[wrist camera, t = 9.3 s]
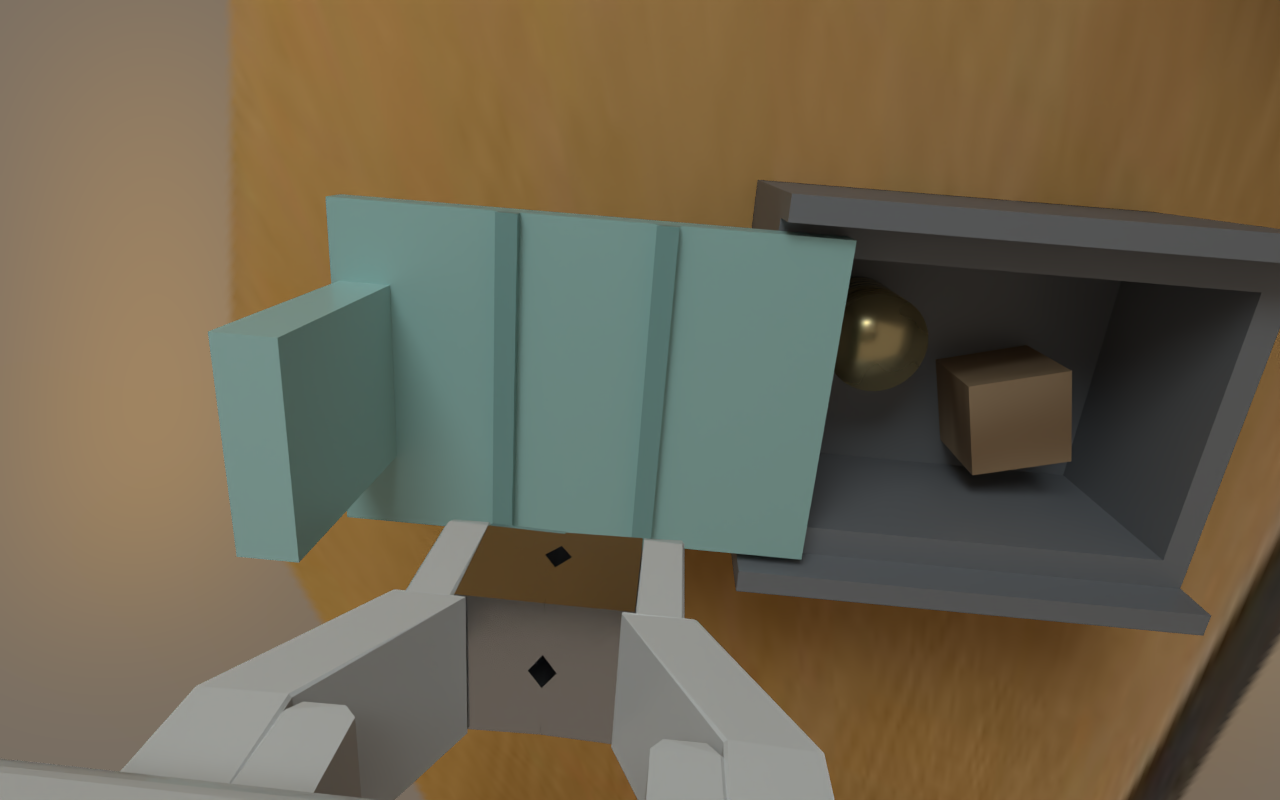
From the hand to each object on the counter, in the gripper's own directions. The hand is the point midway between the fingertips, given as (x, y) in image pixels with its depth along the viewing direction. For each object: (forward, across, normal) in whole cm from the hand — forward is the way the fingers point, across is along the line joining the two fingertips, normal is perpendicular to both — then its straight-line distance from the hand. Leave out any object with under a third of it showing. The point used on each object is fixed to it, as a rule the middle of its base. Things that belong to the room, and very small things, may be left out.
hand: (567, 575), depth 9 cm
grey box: (+15, -9, +1) cm, 18 cm away
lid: (+9, +1, +1) cm, 9 cm away
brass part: (+15, -7, 0) cm, 16 cm away
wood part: (+15, -11, +2) cm, 19 cm away
